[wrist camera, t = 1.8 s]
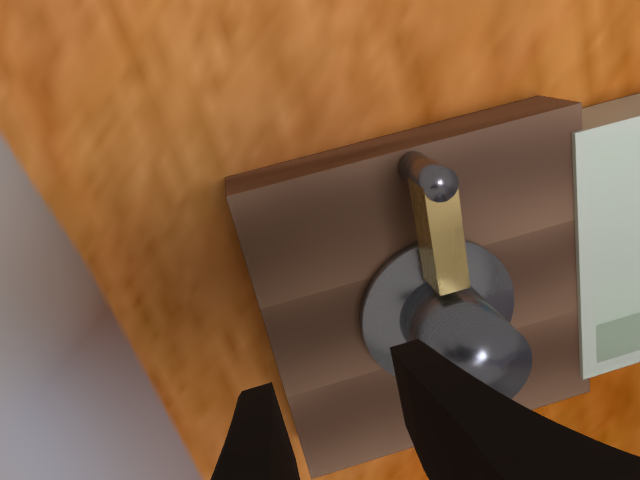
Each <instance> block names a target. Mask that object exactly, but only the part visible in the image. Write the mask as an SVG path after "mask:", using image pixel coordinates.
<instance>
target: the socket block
mask: <svg viewBox="0 0 640 480" xmlns="http://www.w3.org/2000/svg"><path fill="white" fill-rule="evenodd" d="M578 130H582V103H581V102H575V101H569V100H563V99H557V98H551V97H545V96H536V97H532V98H528V99H524V100H520V101H516V102H513V103H509V104H505V105H501V106H497V107H493V108H490V109H486V110H482V111H478V112H474V113H471V114H467V115H463V116H459V117H455V118H451V119H448V120H444V121H440V122H436V123H432V124H428V125H425V126H421V127H417V128H413V129H409V130H405V131H402V132H398V133H394V134H390V135H386V136H382V137H379V138H375V139H371V140H367V141H363V142H359V143H356V144H352V145H348V146H344V147H340V148H336V149H333V150H329V151H325V152H321V153H317V154H313V155H310V156H306V157H302V158H298V159H294V160H290V161H287V162H283V163H279V164H275V165H271V166H267V167H264V168H260V169H256V170H252V171H248V172H244V173H241V174H237V175H233V176H229V177H225V188H226V199H227V202H228V205H229V209H230V212H231V215H232V218H233V222H234V225H235V228H236V232H237V235H238V238H239V242H240V245H241V248H242V251H243V255H244V258H245V261H246V265H247V268H248V271H249V275H250V278H251V281H252V284H253V288H254V291H255V294H256V298H257V301H258V304H259V308H260V311H261V314H262V318H263V321H264V324H265V327H266V331H267V334H268V337H269V341H270V344H271V347H272V351H273V354H274V357H275V360H276V364H277V367H278V370H279V374H280V377H281V380H282V384H283V387H284V390H285V393H286V397H287V400H288V403H289V407H290V410H291V413H292V417H293V420H294V423H295V426H296V430H297V433H298V436H299V440H300V443H301V446H302V450H303V453H304V456H305V459H306V463H307V466H308V469H309V473H310V476H311V479H313V478H317V477H320V476H323V475H326V474H329V473H332V472H336V471H339V470H342V469H345V468H348V467H351V466H355V465H358V464H361V463H364V462H367V461H371V460H374V459H377V458H380V457H383V456H386V455H390V454H393V453H396V452H399V451H402V450H405V449H409V448H412V447H414V445H413V443H412V440H411V438H410V435H409V433H408V431H407V428H406V426H405V421H404V416H403V411H402V406H401V401H400V396H399V391H398V386H397V381H396V377H395V376H393V375H392V374H390V373H388V372H387V371H386V370H384V369H383V368H382V367H381V366H380V365H379V364H378V363H377V362H376V361H375V360H374V358H373V357H372V355H371V354H370V352H369V350H368V347H367V345H366V343H365V341H364V339H363V336H362V333H361V328H360V307H361V302H362V298H363V295H364V292H365V290H366V288H367V285H368V283H369V282H370V280H371V278H372V277H373V275H374V274H375V273H376V271H377V270H378V269H379V267H380V266H381V265H382V264H383V263H384V262H385V261H386V260H387V259H389V258H390V257H391V256H392V255H394V254H395V253H396V252H398V251H399V250H401V249H402V248H404V247H406V246H408V245H410V244H412V243H414V242H417V241H418V240H417V233H416V227H415V221H414V215H413V209H412V202H411V196H410V190H409V184H408V182H406V181H405V180H404V179H402V178H401V176H400V175H399V172H398V165H399V162H400V160H401V158H402V157H403V156H404V155H405V154H407V153H409V152H412V151H417V152H420V153H422V154H424V155H425V156H427V157H429V158H431V159H433V160H435V161H436V162H438V163H440V164H442V165H444V166H445V167H447V168H449V169H451V170H453V171H454V172H455V173H456V175H457V176H458V180H459V186H458V190H459V198H460V206H461V215H462V223H463V231H464V239H467V240H470V241H473V242H475V243H477V244H479V245H481V246H482V247H484V248H485V249H486V250H488V251H489V252H490V253H492V254H493V255H494V256H495V257H496V258H497V259H498V260H499V261H500V262H501V263H502V264H503V266H504V267H505V268H506V270H507V272H508V274H509V276H510V278H511V282H512V285H513V290H514V309H513V315H512V319H511V322H510V324H511V325H512V326H513V327H514V328H515V329H516V330H517V331H518V332H519V333H520V334H521V335H522V336H523V337H524V338H525V339H526V340H527V341H528V343H529V345H530V348H531V351H532V368H531V372H530V375H529V377H528V379H527V381H526V383H525V385H524V386H523V387H522V389H521V390H520V391H519V392H518V393H517V394H516V395H515V396H514V397H513V398H512V400H514V401H515V402H517V403H519V404H521V405H523V406H525V407H527V408H528V409H530V410H532V409H536V408H539V407H542V406H545V405H548V404H552V403H555V402H558V401H561V400H564V399H567V398H571V397H574V396H577V395H580V394H583V393H586V392H590V385H589V378H587V379H584V380H583V379H582V378H581V377H580V357H579V329H578V301H577V273H576V245H575V217H574V189H573V161H572V133H571V132H575V131H578Z"/></svg>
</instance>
